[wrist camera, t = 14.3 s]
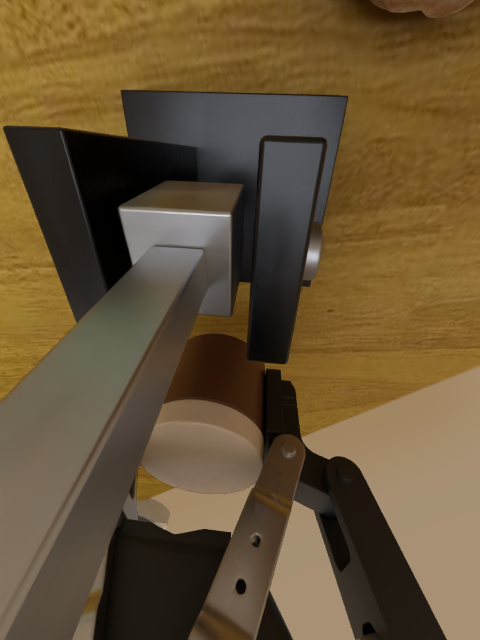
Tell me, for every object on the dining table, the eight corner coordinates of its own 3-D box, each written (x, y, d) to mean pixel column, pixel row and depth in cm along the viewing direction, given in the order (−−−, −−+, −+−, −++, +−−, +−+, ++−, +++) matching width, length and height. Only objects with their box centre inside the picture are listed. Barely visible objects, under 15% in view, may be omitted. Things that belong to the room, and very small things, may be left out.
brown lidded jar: (261, 405, 15) (259, 501, 11) (178, 396, 15) (144, 487, 11) (269, 337, 12) (271, 431, 8) (168, 329, 13) (118, 415, 8)
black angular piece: (306, 277, 15) (352, 422, 7) (159, 267, 16) (37, 390, 7) (340, 101, 11) (579, -84, 2) (134, 96, 11) (-228, -69, 3)
